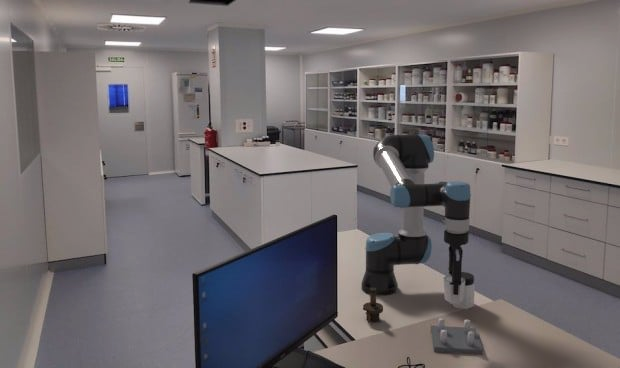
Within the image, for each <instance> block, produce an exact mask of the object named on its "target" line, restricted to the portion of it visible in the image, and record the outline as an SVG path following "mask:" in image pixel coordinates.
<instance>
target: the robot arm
mask: <svg viewBox="0 0 620 368" xmlns="http://www.w3.org/2000/svg"><path fill="white" fill-rule="evenodd" d="M372 155H373V156H372V157H373V161H374V163H375V164H376V165H377V166H378V167H379V168H380V169H382V172H383V173H384V175H385V177H386V179H387V181H388V183H389V185H390V187H391V188H390V191H389V194H390V195H389V197H390V202H391V205H392V206H393V207H395V208H402V213H401V214H402V218H401V219H402V221H401V225H402V226H401V229H399V230H398V235H397V236H395V235H394V233H391V232H379V233H373V234H371V235H370V236H368V237H367V238H366V241H365V272H364V274H363V277H362V281H361V290H362V291H363V292H364V291H365V292H364V293H365V294H368V293H369V295H370V289H371V288H376V296H389V295H390V296H391V295H393V294H396V293H397V292H398V288H399V285H398V281H397V278H396V275H395V272H394V271H395V268H394V267H395V266H397V265H398V266H399V265H420V264H426V263H427V262H428V261H429V259H430V258H431V254H432V249H433V248H432V247H433V245H432V239H431V236H429V235H428V233H427V231H426V230H425V229H424V210H425V207H444V219H442V223H443V224H444V231H443V241H444V243H445V244H448V245H449V246H448V257H449V259H448V268H447V269H448V274H449V275H448V276H450V275H452V283H450V285H451V302H449V303H450V304H451V303H452V304H459V303H460V285H461V272H462V268H463V267H462V262H463V252H464V251H463V248H462V246H465V245H467V244H468V243H469V234H470V233H469V232H468V231H469V230H470V212H471V211H470V209H471V196H472V194H471V185H470V184H469V183H468V182H466V181H465V182H464V181H457V180H455V181H449V182H447V181H437V182H435V183H425V173H426V171H427V170H428V169H429V165H430V164H431V163H433V162H434V159H435V149H434V144H433V141H432V139H431V137H430V136H429V135H428V134H423V133H422V134H421V133H419V134H418V133H412V134H411V133H409V134H407V133H406V134H390V135H386V136H384V137H383V138H381V139H380V140H379V141H378V142H377V143H376V144H375V146H374V149H373V153H372ZM452 304H451V305H452Z"/></svg>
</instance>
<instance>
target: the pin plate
mask: <svg viewBox="0 0 620 368" xmlns="http://www.w3.org/2000/svg"><path fill="white" fill-rule="evenodd" d="M437 319H438V321H437V322H438V323H437V325H430V328H431V330H430V335H431V334H432V336H431V342H432V349H433V352H441V353H453V354H454V353H456V354H469V355H470V354H471V355H483V353H484V348H483V346H482V344H481V341H480V339H479V335H478V332H477V329H476V327H471V320H470V319H464V321H463V327H462V326H461V327H460V326H447V325H446V326H445V318H443V317H439V318H437Z"/></svg>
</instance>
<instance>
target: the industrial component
mask: <svg viewBox="0 0 620 368" xmlns="http://www.w3.org/2000/svg"><path fill="white" fill-rule="evenodd" d="M369 298H370V299H369V300H370V302H368V301H367V302H366V303H364V304H363V305H362V310H363V311H366V312H365V313H364V315H366V321H367V323H376V322H377V323H378V322H379V321H380V314H382V313H383V312H384V306H383V304H381V303H379V302H377V295H376V288H371V289H370V294H369Z"/></svg>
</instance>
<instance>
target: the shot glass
mask: <svg viewBox="0 0 620 368" xmlns="http://www.w3.org/2000/svg"><path fill="white" fill-rule="evenodd" d="M449 275H450V276H449ZM449 275H446V276H444V277H443V292H444V300H446V301H447V302H449V303H450V302H451V285H450V283H452V275H451V274H449ZM464 287H465V279H464V278H463V277H461V285H460V302H462V300H463V294H464Z"/></svg>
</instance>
